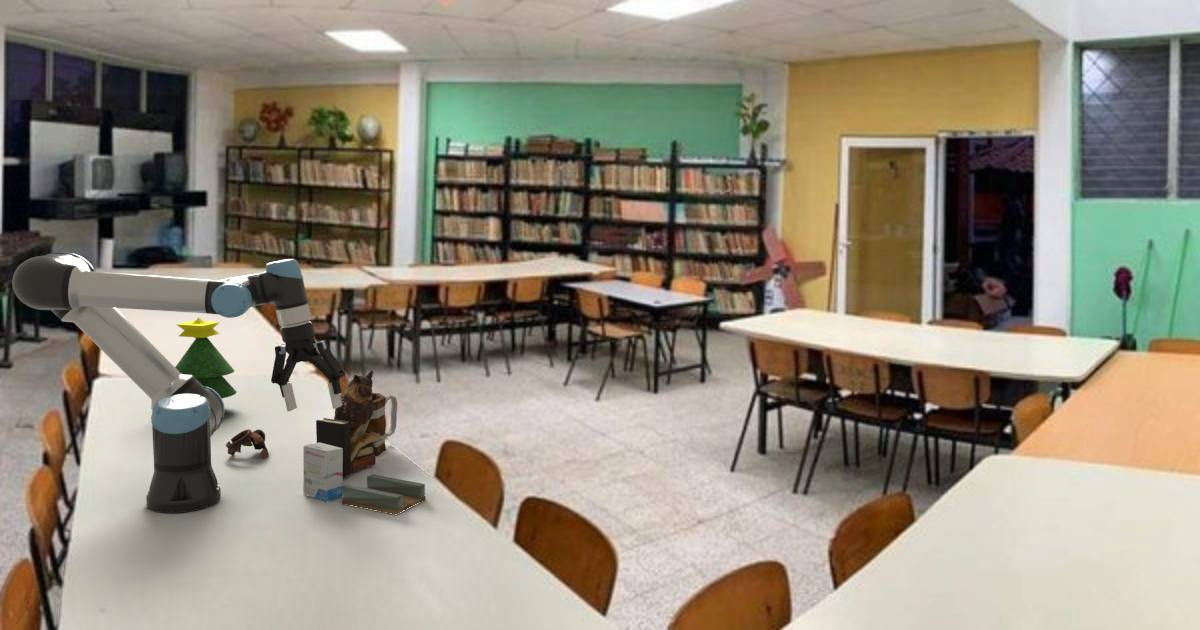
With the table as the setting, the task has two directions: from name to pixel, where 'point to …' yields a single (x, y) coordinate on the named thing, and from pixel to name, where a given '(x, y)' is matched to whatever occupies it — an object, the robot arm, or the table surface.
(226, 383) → the decorative tree
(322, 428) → the bookend
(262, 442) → the brown carved ornament
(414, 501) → the track
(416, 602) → the table surface
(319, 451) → the ink box
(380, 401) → the mug
